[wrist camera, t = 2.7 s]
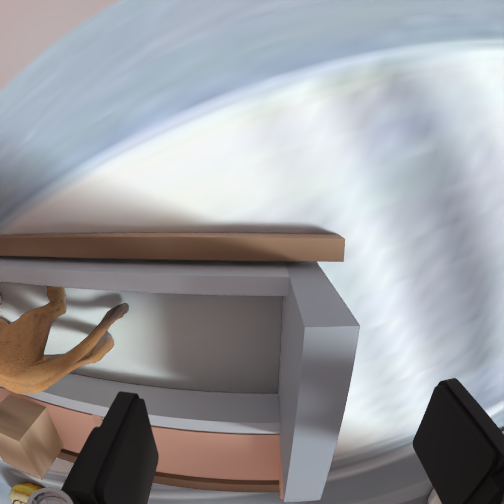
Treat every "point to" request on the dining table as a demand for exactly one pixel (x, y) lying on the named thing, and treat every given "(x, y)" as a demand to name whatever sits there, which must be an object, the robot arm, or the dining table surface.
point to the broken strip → (183, 446)
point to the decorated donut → (22, 492)
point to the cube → (28, 436)
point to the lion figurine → (34, 341)
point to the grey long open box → (219, 403)
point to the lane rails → (182, 249)
